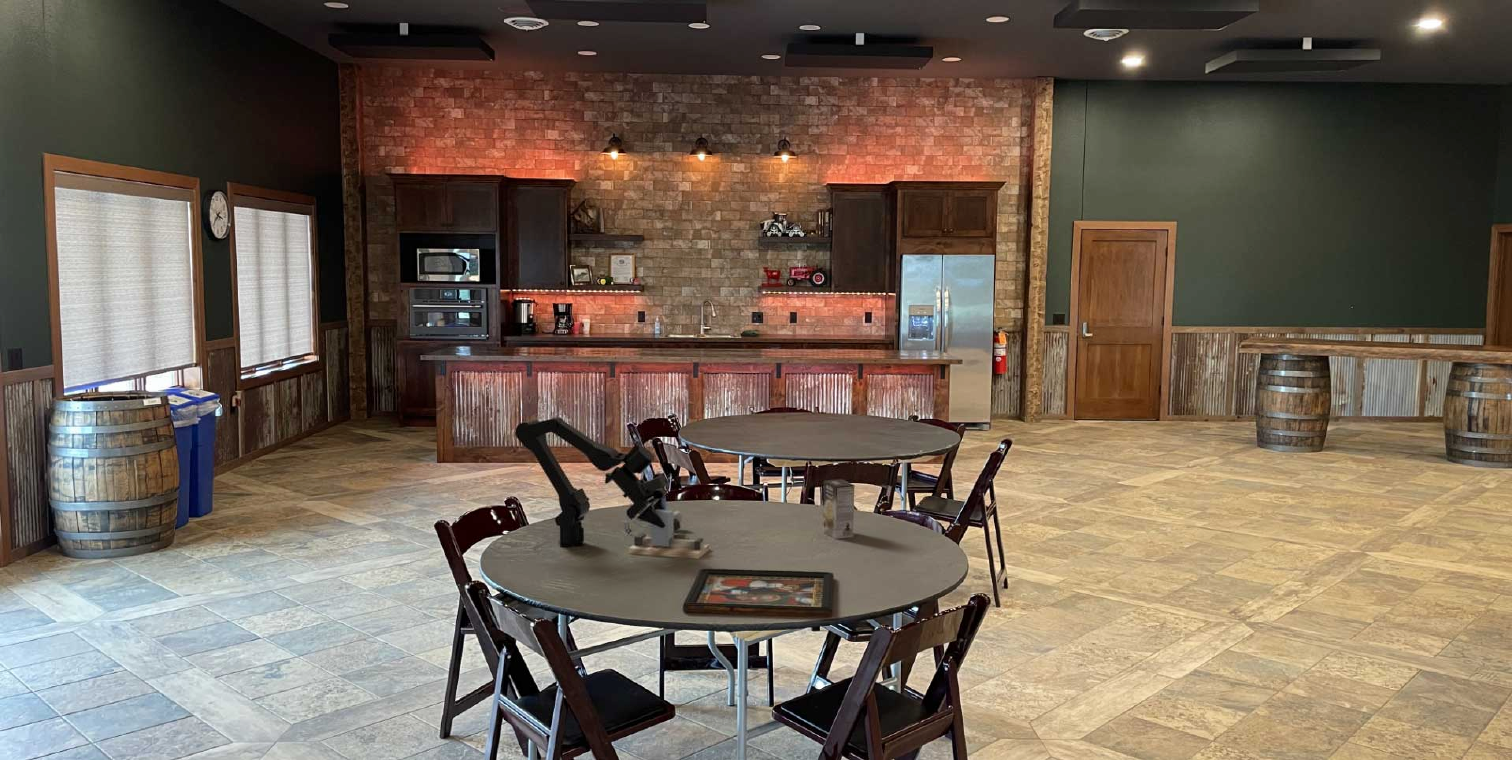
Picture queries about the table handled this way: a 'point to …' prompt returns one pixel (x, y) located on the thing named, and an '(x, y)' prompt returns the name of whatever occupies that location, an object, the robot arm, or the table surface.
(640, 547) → the rail
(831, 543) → the table surface
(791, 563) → the table surface
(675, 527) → the clip-on lamp
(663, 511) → the pale blue rectangular block
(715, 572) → the framed painting
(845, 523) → the coffee box
